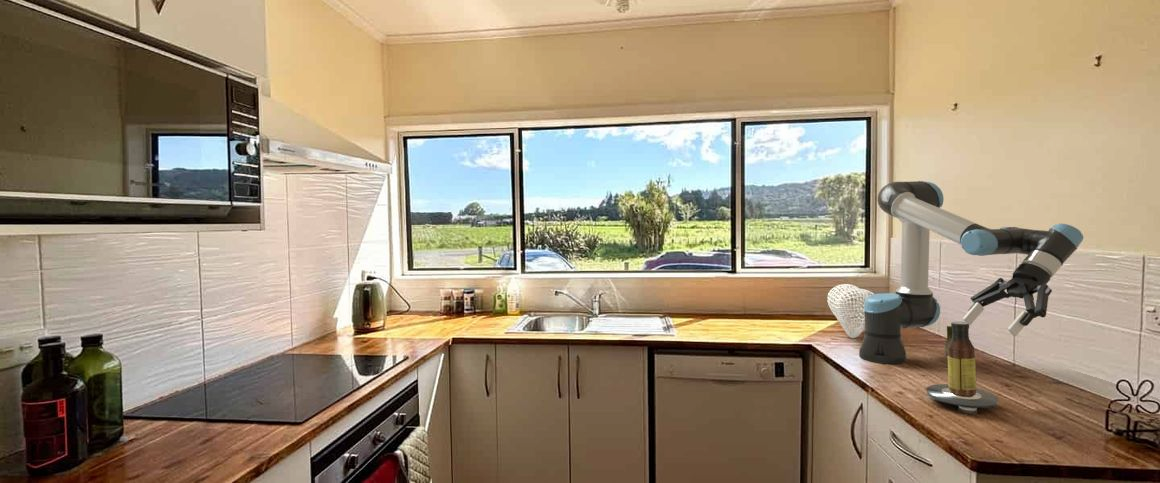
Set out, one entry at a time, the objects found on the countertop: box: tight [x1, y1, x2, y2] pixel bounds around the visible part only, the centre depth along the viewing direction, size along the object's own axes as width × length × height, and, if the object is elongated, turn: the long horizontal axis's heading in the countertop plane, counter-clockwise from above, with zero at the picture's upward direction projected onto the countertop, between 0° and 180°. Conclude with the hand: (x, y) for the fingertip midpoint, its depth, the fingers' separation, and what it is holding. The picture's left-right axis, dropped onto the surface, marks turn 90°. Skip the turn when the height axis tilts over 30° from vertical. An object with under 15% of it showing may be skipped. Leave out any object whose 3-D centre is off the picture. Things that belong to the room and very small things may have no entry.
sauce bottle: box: [947, 321, 977, 396], centre depth 144 cm, size 6×6×20 cm
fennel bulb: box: [944, 325, 952, 358], centre depth 187 cm, size 6×5×12 cm
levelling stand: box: [926, 383, 999, 415], centre depth 144 cm, size 16×16×3 cm
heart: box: [826, 283, 875, 339], centre depth 221 cm, size 28×16×22 cm, turn 172°
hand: (987, 327), depth 144 cm, fingers open, 13 cm apart
